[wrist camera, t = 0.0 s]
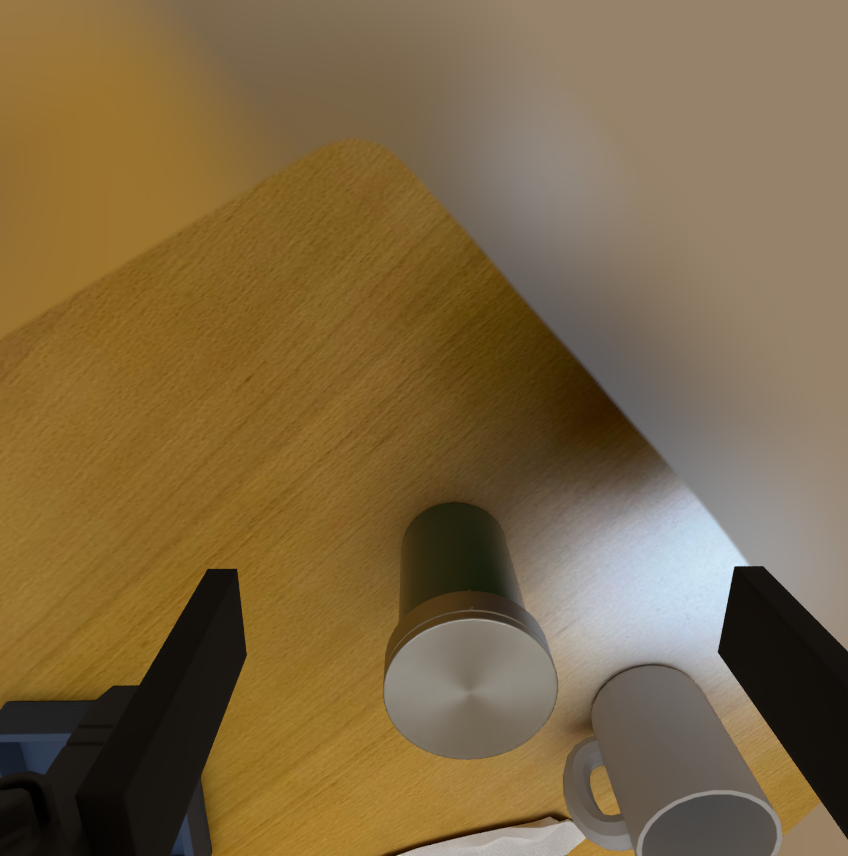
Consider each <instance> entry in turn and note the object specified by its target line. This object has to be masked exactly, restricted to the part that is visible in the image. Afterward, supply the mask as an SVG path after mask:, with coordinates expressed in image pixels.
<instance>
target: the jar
mask: <svg viewBox="0 0 848 856" xmlns="http://www.w3.org/2000/svg"><path fill="white" fill-rule="evenodd" d="M468 590H470V591H481V592H487V593H492V594H495V595H499V596H502V597H504V598H507V599H509V600H511V601H513V602H515V603H516V604H518V605H520V606H521V607H522V608H524V609H525V605H524V602H523V598H522V595H521V591H520V588H519V584H518V581H517V577H516V573H515V570H514V566H513V563H512V559H511V556H510V552H509V549H508V545H507V541H506V538H505V535H504V532H503V530H502V528H501V526H500V525H499V523H498V522H497V521H496V520H495V519H494V518H493V517H492V516H491V515H490V514H489V513H487V512H486V511H484V510H482V509H480V508H478V507H476V506H473V505H469V504H464V503H446V504H441V505H438V506H435V507H432V508H430V509H428V510H426V511H425V512H423V513H421V514H420V515H419V516H418V517H416V518H415V520H414V521H413V522H412V523H411V524H410V526H409V527H408V529H407V530H406V532H405V535H404V537H403V541H402V548H401V571H400V595H399V620H398V624H399V622H400V621H401V620H402V619H403V618H404V617H405V616H406V615H407V614H408V613H409V612H410V611H412V610H413V609H414V608H416V607H417V606H419V605H420V604H422V603H424V602H425V601H427V600H430V599H432V598H434V597H437V596H440V595H444V594H447V593H453V592H459V591H468ZM525 610H526V609H525Z"/></svg>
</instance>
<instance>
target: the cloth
mask: <svg viewBox="0 0 848 856" xmlns="http://www.w3.org/2000/svg"><path fill="white" fill-rule="evenodd" d="M585 838H586V837H585V836H584V834H583V833H582V832H581V831H580V830H579V829H578V828H577V827H576V825H575V823H574V822H573V821H571V820H569V819H566V820H563V821H560V822H559V821H557V820H555V819H553V818H552V817H548V818H544V819H541V820H538V821H535V822H532V823H527V824H522V825H517V826H512V827H507V828H502V829H498V830H493V831H488V832H483V833H479V834H474V835H469V836H465V837H460V838H456V839H452V840H448V841H444V842H440V843H436V844H432V845H428V846H424V847H420V848H417V849H414V850H411V851H408V852H405V853H403V854H400V855H397V856H565V855H566V854H568V853H569V852H570V851H571V850H572V849H573V848H575V847H576V846H577V845H578V844H579V843H581V842H582V841H583V840H584V839H585Z"/></svg>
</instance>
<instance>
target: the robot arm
mask: <svg viewBox="0 0 848 856" xmlns="http://www.w3.org/2000/svg"><path fill="white" fill-rule="evenodd" d="M718 653H719V655H720V656H721V658H722V659H723V660H724V662H725V663H726V665H727V666H728V668H729V669H730V671H731V672H732V673H733V675H734V676H735V678H736V679H737V681H738V682H739V683H740V685H741V686H742V688H743V689H744V691H745V692H746V694H747V695H748V696H749V698H750V699H751V701H752V702H753V704H754V705H755V707H756V708H757V709H758V711H759V712H760V714H761V715H762V717H763V718H764V720H765V721H766V722H767V724H768V725H769V727H770V728H771V730H772V731H773V732H774V734H775V735H776V737H777V738H778V740H779V741H780V743H781V744H782V745H783V747H784V748H785V750H786V751H787V753H788V754H789V756H790V757H791V758H792V760H793V761H794V763H795V764H796V766H797V767H798V768H799V770H800V771H801V773H802V774H803V776H804V777H805V779H806V780H807V781H808V783H809V784H810V786H811V787H812V789H813V790H814V792H815V793H816V794H817V796H818V797H819V799H820V800H821V802H822V803H823V804H824V806H825V807H826V809H827V810H828V812H829V813H830V814H831V816H832V817H833V819H834V820H835V822H836V823H837V825H838V826H839V827H840V829H841V830H842V832H843V833H844V835H845V836H846V838H847V839H848V651H847V650H846V649H845V648H844V647H843V646H842V645H841V644H840V643H839V642H838V641H837V640H836V639H835V638H834V637H833V636H832V635H831V634H830V633H829V632H828V631H827V630H826V629H825V628H824V627H823V626H822V625H821V624H820V623H819V622H818V621H817V620H816V619H815V618H814V617H813V616H812V615H811V614H810V613H809V612H808V611H807V610H806V609H805V608H804V607H803V606H802V605H801V604H800V603H799V602H798V601H797V600H796V599H795V598H794V597H793V596H792V595H791V594H790V593H789V592H788V591H787V590H786V589H785V588H784V587H783V586H782V585H781V584H780V583H779V582H778V581H777V580H776V579H775V578H774V577H773V576H772V575H771V574H770V573H769V572H768V571H767V570H766V569H765V568H764V567H763V566H734V572H733V577H732V582H731V587H730V592H729V597H728V603H727V608H726V613H725V618H724V623H723V628H722V634H721V639H720V644H719V649H718ZM246 656H247V653H246V644H245V635H244V626H243V617H242V608H241V599H240V590H239V581H238V572H237V569H207V571H206V573H205V575H204V576H203V578H202V580H201V581H200V583H199V585H198V586H197V588H196V590H195V592H194V593H193V595H192V597H191V598H190V600H189V602H188V603H187V605H186V607H185V609H184V610H183V612H182V614H181V615H180V617H179V619H178V620H177V622H176V624H175V626H174V627H173V629H172V631H171V632H170V634H169V636H168V638H167V639H166V641H165V643H164V644H163V646H162V648H161V649H160V651H159V653H158V655H157V656H156V658H155V660H154V661H153V663H152V665H151V666H150V668H149V670H148V672H147V673H146V675H145V677H144V678H143V680H142V682H141V684H140V685H137V686H112V687H111V688H110V689H109V690H107V691H106V692H105V693H104V694H103V695H101V696H100V697H99V698H98V699H97V700H95V701H94V702H93V703H92V704H91V705H90V707H89V708H88V710H87V711H86V713H85V714H84V716H83V717H82V719H81V720H80V722H79V723H78V727H77V729H74V731H73V732H72V734H71V735H70V737H69V738H68V740H67V741H66V746H63V748H62V749H61V751H60V752H59V754H58V755H57V757H56V758H55V760H54V761H53V763H52V764H51V766H50V767H49V769H48V770H47V772H46V773H45V775H44V774H40V773H37V772H33V771H26V772H16V773H12V774H9V775H7V776H4V777H1V778H0V856H170V855H171V852H172V849H173V847H174V844H175V842H176V839H177V836H178V834H179V831H180V829H181V826H182V823H183V821H184V818H185V816H186V813H187V810H188V808H189V805H190V802H191V800H192V797H193V795H194V792H195V789H196V787H197V784H198V782H199V779H200V776H201V774H202V771H203V769H204V766H205V763H206V761H207V758H208V755H209V753H210V750H211V748H212V745H213V742H214V740H215V737H216V735H217V732H218V729H219V727H220V724H221V721H222V719H223V716H224V714H225V711H226V708H227V706H228V703H229V701H230V698H231V695H232V693H233V690H234V688H235V685H236V682H237V680H238V677H239V674H240V672H241V669H242V667H243V664H244V661H245V659H246Z"/></svg>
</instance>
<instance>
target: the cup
mask: <svg viewBox="0 0 848 856" xmlns="http://www.w3.org/2000/svg"><path fill="white" fill-rule="evenodd" d="M591 721H592V726H593V731H594V735H595V736H592V737H589V738H586V739H584V740H583V741H581V742H580V743H578V744H577V745H575V746H574V748H573V749H572V751H571V752H570V753H569V755H568V756H567V760H566V764H565V768H564V773H563V793H564V797H565V801H566V805H567V809H568V811H569V813H570V815H571V817H572V819H573V821H574V823H575V825H576V827H577V828H578V829H579V830H580V831H581V832H582V833H583V834H584V836H585V837H586V838H587V839H588V840H590V841H592V842H593V843H595V844H597V845H599V846H601V847H603V848H605V849H607V850H614V851H625V850H630V849H633V850H634V852H635V855H636V856H776V855H777V853H778V851H779V848H780V844H781V841H782V824H781V822H780V820H779V818H778V816H777V814H776V812H775V810H774V809H773V807H772V805H771V804H770V802H769V800H768V799H767V797H766V795H765V794H764V792H763V790H762V789H761V787H760V785H759V784H758V782H757V780H756V779H755V777H754V776H753V774H752V772H751V771H750V769H749V767H748V766H747V764H746V762H745V761H744V759H743V757H742V756H741V754H740V752H739V751H738V749H737V747H736V746H735V744H734V742H733V741H732V739H731V737H730V736H729V734H728V732H727V731H726V729H725V727H724V726H723V724H722V722H721V721H720V719H719V717H718V716H717V714H716V712H715V711H714V709H713V708H712V706H711V704H710V703H709V701H708V699H707V698H706V696H705V694H704V693H703V691H702V690H701V689H700V687H699V686H698V685H697V684H696V683H695V682H694V681H693V680H692V679H691V678H690V677H689V676H687V675H685V674H684V673H682V672H680V671H678V670H675V669H672V668H668V667H664V666H653V665H646V666H641V667H636V668H632V669H629V670H627V671H625V672H622V673H620V674H618V675H617V676H615V677H614V678H613V679H611V680H610V681H608V682H607V684H606V685H605V686H604V687H603V688H602V689H601V690H600V692H599V694H598V696H597V698H596V700H595V702H594V704H593V707H592V714H591ZM603 765H605V768H606V771H607V774H608V777H609V780H610V782H611V785H612V788H613V791H614V794H615V797H616V800H617V803H618V806H619V809H620V811H621V814H617V815H613V816H611V815H604V814H603V813H602V812H601V810H600V809H599V808H598V806H597V804H596V802H595V800H594V797H593V794H592V791H591V786H590V774H591V772H592V771H593V770H594V769H596V768H597V767H600V766H603Z"/></svg>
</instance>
